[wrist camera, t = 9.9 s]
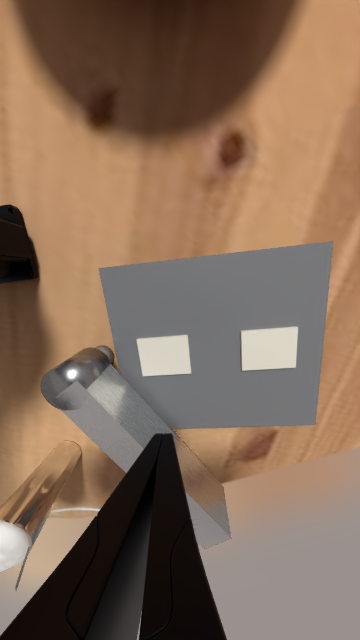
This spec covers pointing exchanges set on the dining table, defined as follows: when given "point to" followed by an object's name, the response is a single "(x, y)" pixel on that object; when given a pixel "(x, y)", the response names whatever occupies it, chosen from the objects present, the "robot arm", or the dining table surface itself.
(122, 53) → the dining table surface
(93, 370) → the swing bar
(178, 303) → the label plate
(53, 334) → the dining table surface
